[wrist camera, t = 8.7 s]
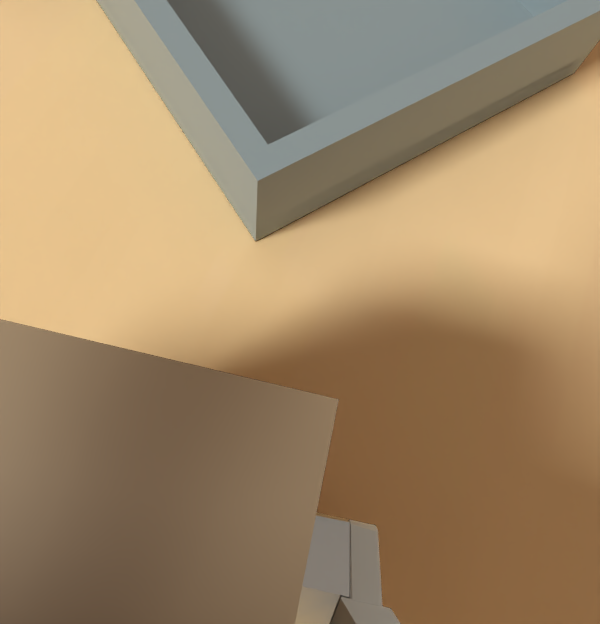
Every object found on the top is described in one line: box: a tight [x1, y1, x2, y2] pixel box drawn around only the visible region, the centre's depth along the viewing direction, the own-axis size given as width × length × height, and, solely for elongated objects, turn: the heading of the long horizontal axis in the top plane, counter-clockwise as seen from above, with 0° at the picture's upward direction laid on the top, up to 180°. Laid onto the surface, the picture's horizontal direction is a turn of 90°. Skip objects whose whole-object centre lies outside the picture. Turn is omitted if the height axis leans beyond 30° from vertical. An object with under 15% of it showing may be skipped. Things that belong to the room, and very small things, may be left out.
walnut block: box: [0, 319, 339, 624], centre depth 10 cm, size 5×5×8 cm
